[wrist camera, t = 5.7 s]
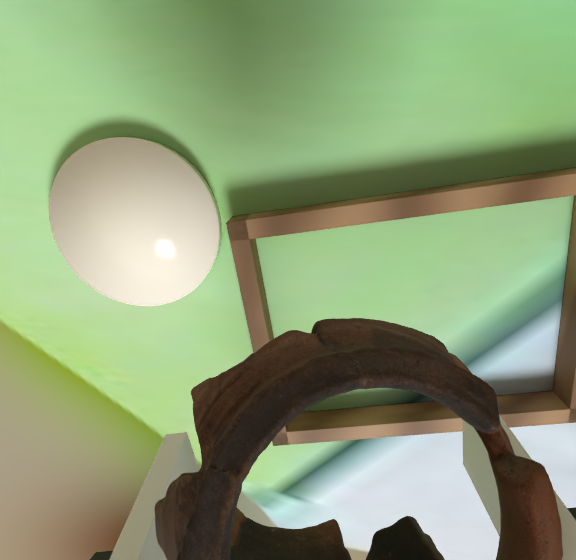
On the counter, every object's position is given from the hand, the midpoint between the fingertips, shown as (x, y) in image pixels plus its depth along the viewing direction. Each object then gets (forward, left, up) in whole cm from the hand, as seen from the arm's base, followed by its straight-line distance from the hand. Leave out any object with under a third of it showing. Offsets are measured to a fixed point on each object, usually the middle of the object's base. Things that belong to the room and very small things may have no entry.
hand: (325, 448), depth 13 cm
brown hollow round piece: (-1, 0, -1) cm, 1 cm away
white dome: (+11, -6, -14) cm, 19 cm away
